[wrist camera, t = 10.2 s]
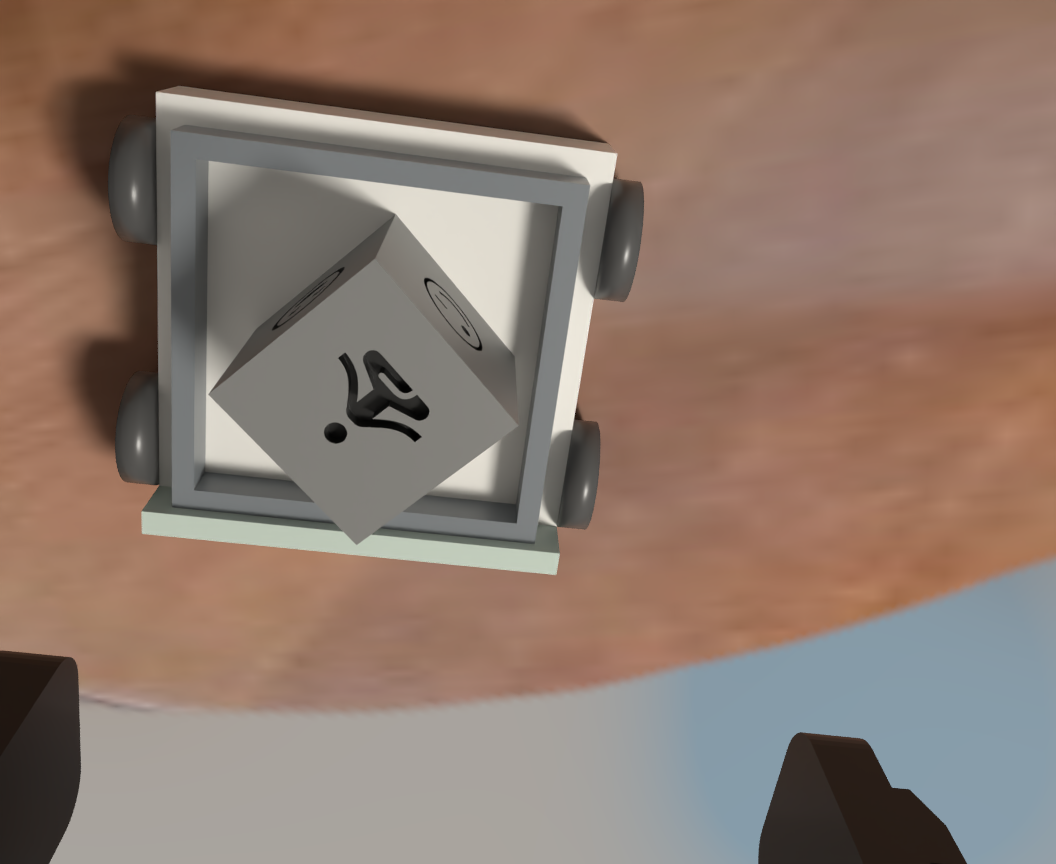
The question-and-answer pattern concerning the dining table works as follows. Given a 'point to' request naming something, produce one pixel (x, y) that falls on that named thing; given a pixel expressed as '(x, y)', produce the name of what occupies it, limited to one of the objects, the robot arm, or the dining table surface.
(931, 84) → the dining table surface
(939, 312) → the dining table surface
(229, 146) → the toy car chassis
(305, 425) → the dice cube
